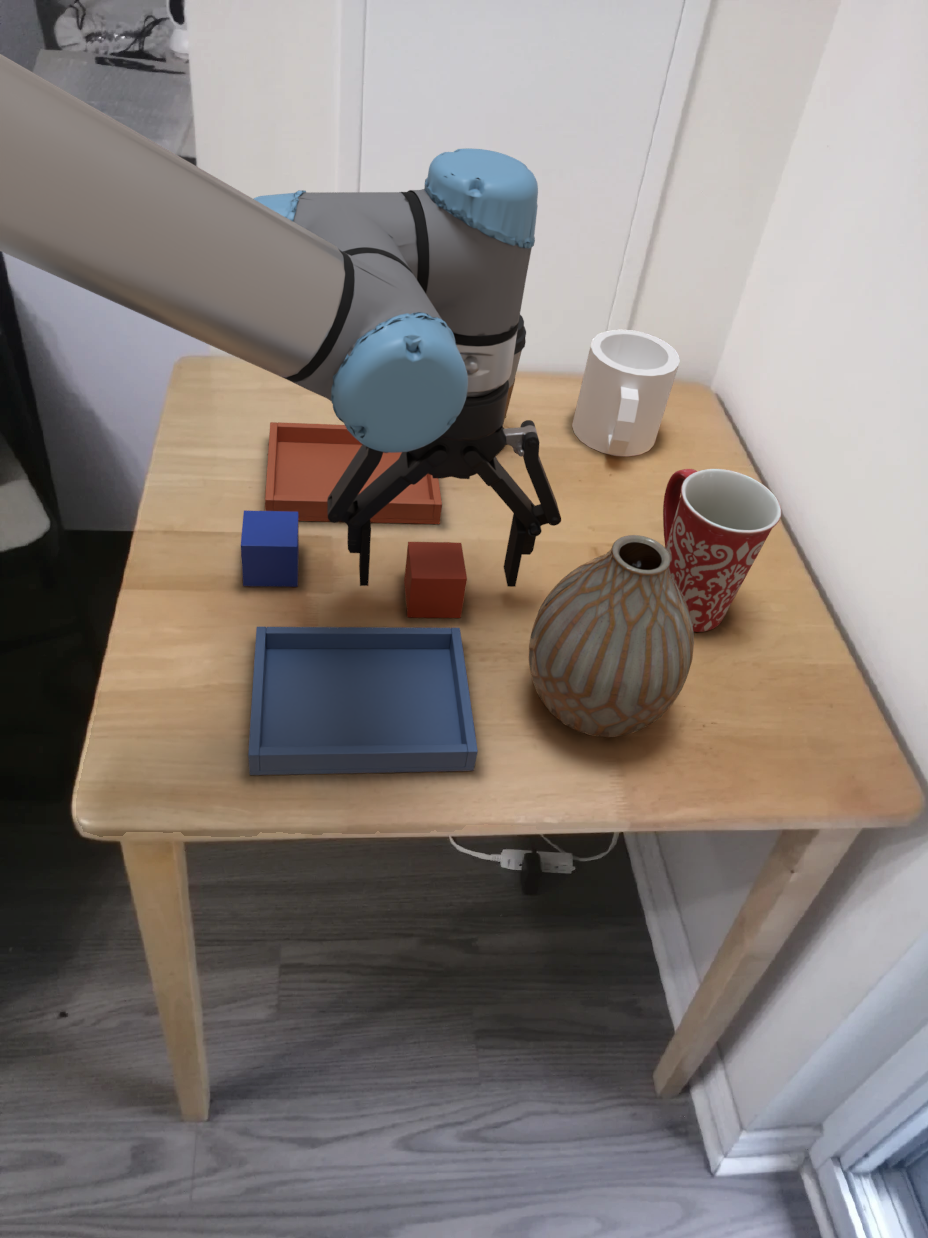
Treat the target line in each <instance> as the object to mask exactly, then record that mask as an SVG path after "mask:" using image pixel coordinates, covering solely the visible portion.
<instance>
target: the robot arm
mask: <svg viewBox="0 0 928 1238" xmlns="http://www.w3.org/2000/svg"><path fill="white" fill-rule="evenodd" d="M538 197H539V185H538V181H537V178H536V176H535V174H534V173H533V172H532V171H531V169H529V168H528V166H527V164H525V163H524V162H522V161H521V160H519V159H517V158H515V157H513V156H510V155H508V154H505V153H503V152H498V151H495V150H491V149H483V148H466V147H465V148H457V149H455V150H453V151H443V152H441V153H439V154H437V155H436V156H435V157H434V158H433V159H432V161H431V162H430V164H429V166H428V172H427V177H426V178H425V179H424V188H421V189H409V190H407V191H386V192H385V191H374V192H373V191H370V192H369V191H365V192H364V191H363V192H362V191H359V192H358V191H357V192H356V191H354V192H353V191H349V192H348V191H347V192H346V191H345V192H344V191H343V192H341V191H340V192H338V191H336V192H335V191H333V192H331V191H330V192H329V191H327V192H323V191H322V192H320V191H319V192H318V191H317V192H313V191H312V192H311V191H310V192H307V191H306V190H304V189H303V190H302V189H299V190H297V191H295V192H289V193H288V192H287V193H277V194H266V195H265V194H264V195H259V196H256V197H251V196H249V195H247V194H245V193H244V192H242V191H241V190H239V189H237V188H236V187H234V186H232V185H230V184H228V183H226V182H225V181H223V180H221V179H219V178H218V177H216V176H214V175H213V174H211V173H209V172H208V171H205V170H204V169H202V168H200V167H198V166H197V165H195V164H193V163H192V162H190V161H188V160H186V159H185V158H183V157H181V156H179V155H177V154H176V153H174V152H173V151H170V150H169V149H168V148H165V147H163V146H162V145H160V144H158V143H157V142H155V141H153V140H151V139H150V138H148V137H146V136H144V135H143V134H141V133H139V132H137V131H136V130H134V129H132V128H131V127H129V126H127V125H125V124H124V123H122V122H120V121H119V120H117V119H115V118H113V117H111V116H110V115H108V114H106V113H104V112H103V111H101V110H100V109H98V108H95V107H94V106H92V105H90V104H88V103H87V102H85V101H83V100H82V99H80V98H78V97H76V96H75V95H74V94H71V93H70V92H68V91H66V90H64V89H63V88H61V87H59V86H58V85H56V84H54V83H53V82H50V81H49V80H47V79H45V78H43V77H41V76H40V75H38V74H36V73H35V72H33V71H31V70H29V69H28V68H26V67H24V66H23V65H21V64H19V63H17V62H15V61H13V60H12V59H10V58H8V57H6V56H5V55H4V54H1V53H0V252H1V253H4V254H6V255H8V256H10V257H13V258H15V259H17V260H19V261H22V262H24V263H26V264H28V265H31V266H32V267H35V268H37V269H40V270H42V271H44V272H46V273H48V274H51V275H52V276H55V277H57V278H59V279H62V280H63V281H66V282H68V283H70V284H73V285H75V286H78V287H79V288H82V289H83V290H86V291H88V292H90V293H93V294H94V295H97V296H99V297H102V298H104V299H106V300H108V301H110V302H113V303H115V304H118V305H120V306H122V307H124V308H126V309H128V310H131V311H133V312H135V313H137V314H140V315H142V316H143V317H145V318H148V319H151V320H153V321H154V322H155V321H156V322H158V323H160V324H162V325H163V326H167V327H169V328H171V329H173V330H175V331H178V332H180V333H182V334H184V335H186V336H189V337H190V338H193V339H195V340H198V341H200V342H202V343H203V344H205V345H206V344H207V345H208V346H211V347H213V348H215V349H218V350H220V351H222V352H225V353H227V354H229V355H231V356H233V357H235V358H238V359H240V360H243V361H244V362H246V363H249V364H251V365H252V366H253V365H254V366H256V367H258V368H260V369H262V370H265V371H267V372H269V373H272V374H273V375H276V376H278V377H280V378H282V379H284V380H287V381H289V382H291V383H293V384H295V385H296V386H299V387H301V388H303V389H306V390H307V391H310V392H312V393H313V394H316V395H318V396H320V397H322V398H325V399H327V400H328V401H330V402H331V404H332V409H333V412H334V414H335V416H336V418H337V419H338V420H339V421H340V422H342V423H343V425H345V426H346V428H347V430H348V431H349V432H350V433H351V434H352V435H353V436H354V437H355V438H356V439H357V440H358V441H359V442H360V443H362V446H361V447H360V449H359V450H358V452H357V453H356V455H355V456H354V458H353V459H352V461H351V462H350V464H349V466H348V467H347V469H346V470H345V472H344V473H343V475H342V476H341V478H340V479H339V481H338V482H337V484H336V486H335V487H334V489H333V490H332V492H331V493H330V495H329V496H328V499H327V514H328V520H329V521H328V522H331V523H333V524H335V523H336V524H337V523H339V521H342V522H341V523H344V524H345V525H347V550H348V552H349V554H358V555H359V560H358V574H359V586H360V587H369V580H370V561H371V560H370V558H371V556H370V555H371V540H372V538H371V537H372V525H371V523H372V522H370V519H371V518H372V517H373V516H374V515H376V514H377V513H378V512H379V511H380V510H381V509H383V508H384V507H385V506H386V505H387V504H388V503H390V502H391V501H392V500H393V499H394V498H395V497H397V496H398V495H399V494H400V493H401V492H402V491H404V490H405V489H406V488H407V487H408V486H409V485H411V484H413V485H415V484H416V483H418V482H419V481H420V480H421V479H422V478H423V477H425V476H426V475H427V474H429V475H432V477H433V478H438V479H446V478H455V479H459V480H470V479H471V477H473V476H476V475H478V476H479V478H480V479H481V480H482V482H484V483H485V484H486V486H487V487H490V488H491V489H492V490H493V491H494V492H495V493H496V495H497V496H498V497H499V498H500V499H501V500H502V501H503V503H504V504H505V505H506V506H507V507H508V509H509V510H510V511H511V512H512V519H511V525H510V530H509V535H508V540H507V546H506V551H505V557H504V561H503V562H504V563H503V573H504V576H505V582H506V586H507V587H509V588H512V587H514V588H516V585H517V582H518V581H517V580H518V577H519V570H520V566H521V561H522V555H525V556H528V555H529V556H530V555H531V554H532V553H533V552H534V549H535V545H536V539H537V537H538V536H540V535H541V533H542V526H544V525H550V526H552V527H554V526H555V527H556V526H558V525H559V524H560V523H561V522H562V517H561V513H560V509H559V506H558V502H557V499H556V496H555V494H554V492H553V489H552V486H551V483H550V481H549V479H548V475H547V473H546V470H545V468H544V466H543V463H542V460H541V457H540V439H539V435H538V432H537V428H536V425H535V422H534V421H533V420H531V419H525V420H523V421H522V422H521V424H520V426H518V427H507V428H506V427H505V428H504V424H503V421H504V422H505V420H504V415H505V409H506V402H507V396H508V390H509V381H508V379H509V378H510V375H511V371H512V364H513V357H514V350H515V343H516V337H517V330H518V325H519V318H520V315H521V310H522V304H523V298H524V294H525V293H524V292H525V286H526V280H527V275H528V271H529V265H530V260H531V253H532V249H533V247H534V246H535V241H536V237H535V233H536V224H537V214H538V206H539V205H538V199H539V198H538ZM506 446H510V447H511V448H512V451H513V453H514V454H516V455H518V457H522V458H523V462H524V466H525V469H526V471H527V474H528V476H529V479H530V481H531V484H532V486H533V489H534V491H535V494H536V497H537V499H538V501H539V504H536V505H535V504H534V502H532V500H531V499H530V497H528V495H527V494H526V492H525V491H523V489H522V488H521V487H520V486H519V484H518V483H517V482H516V480H514V478H513V477H512V476H511V475H510V474H509V472H508V471H507V469H506V468H504V466H503V465H502V464H501V463H500V461H499V460H498V458H497V456H498V455H499V454H500V453H501V452H502V451H503V450H504V449H505V447H506ZM383 452H384V453H389V452H390V453H398V452H402V453H401V455H400V457H399V459H398V460H397V461H396V462H395V463H393V464H392V465H391V466H390V467H389V468H388V469H387V470H386V471H384V472H383V473H382V474H381V475H380V476H379V477H378V478H377V479H375V480H374V481H373V482H372V483H371V484H370V485H369V486H367V487H366V488H365V489H364V490H363V491H362V492H361V493H360V494H359V492H360V491H361V490H362V488H363V487H364V485H365V484H366V482H367V481H368V479H369V478H370V476H371V475H372V473H373V472H374V470H375V469H376V467H377V466H378V464H379V462H380V460H381V458H382V455H383Z"/></svg>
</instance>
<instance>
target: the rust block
mask: <svg viewBox="0 0 928 1238" xmlns="http://www.w3.org/2000/svg"><path fill="white" fill-rule="evenodd" d="M406 548H407V549H406V558H405V569H404V577H403V583H404V595H405V604H406V605H405V606H406V615H407V616H406V617H407V618H411V619H412V618H413V619H415V618H416V619H417V618H418V619H419V618H422V619H425V618H427V619H461V618H462V613H463V607H464V601H465V595H466V589H467V583H468V576H467V570H466V564H465V558H464V551H463V545H462V542H450V541H449V542H448V541H447V542H446V541H443V542H442V541H408V542H407V547H406Z"/></svg>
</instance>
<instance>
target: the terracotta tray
mask: <svg viewBox="0 0 928 1238" xmlns="http://www.w3.org/2000/svg"><path fill="white" fill-rule="evenodd" d="M268 433H269V434H268V449H267V450H268V451H267V465H266V481H265V495H264V504H265V505H264V507H265V509H264V510H265V511H288V512H298V522H330V521H329V520H328V514H327V499H328V496H329V495H330V493H331V492H332V490H333V489H334V487H335V486H336V484H337V482H338V481H339V479H340V478H341V476H342V475H343V473H344V472H345V470H346V469H347V467H348V466H349V464H350V462H351V461H352V459H353V458H354V456H355V455H356V453H357V452H358V450H359V449H360V447H361V446H362V443H360V442H359V441H358V440H357V439H356V438H355V437H354V436H353V435H352V434H351V433H350V432H349V431H348V430H347V428H346V426H345V424H331V423H330V424H329V423H308V422H307V423H305V422H303V423H302V422H283V421H281V422H275V421H274V422H273V421H271V422H269V432H268ZM401 453H402V452H398V453H390V452H389V453H384V452H383V455H382V458H381V460H380V462H379V464H378V466H377V467H376V469H375V470H374V472H373V473H372V475H371V476H370V478H369V479H368V481H367V482H366V484H365V485H364V487H363V488H362V490H361V491H360V492H359V494H360V493H361V492H362V491H363V490H364V489H365V488H366V487H367V486H369V485H370V484H371V483H372V482H373V481H374V480H375V479H377V478H378V477H379V476H380V475H381V474H382V473H383V472H384V471H386V470H387V469H388V468H389V467H390V466H391V465H392V464H393V463H395V462H396V461H397V460H398V459H399V457H400V455H401ZM442 507H443V501H442V494H441V486H440V479H439V478H433V477H432V475H429V474H427V475H426V476H425V477H423V478H422V479H421V480H420V481H419V482H418V483H416V484H415V485H413V484H411V485H409V486H408V487H407V488H406V489H405V490H404V491H402V492H401V493H400V494H399V495H398V496H397V497H395V498H394V499H393V500H392V501H391V502H390V503H388V504H387V505H386V506H385V507H384V508H383V509H381V510H380V511H379V512H378V513H377V514H376V515H374V516H373V517H372V518H371V519H370V522H371V523H377V524H379V523H382V524H383V523H384V524H422V525H424V524H425V525H440V523H441V517H442V509H443V508H442ZM339 522H340V523H343V522H342V521H339ZM339 522H338V523H339Z"/></svg>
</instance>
